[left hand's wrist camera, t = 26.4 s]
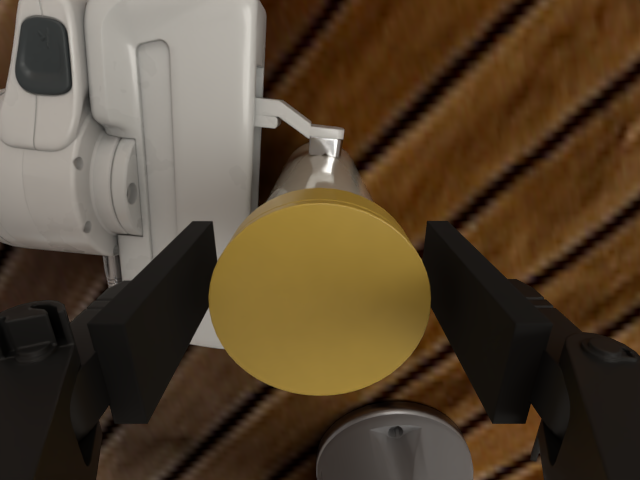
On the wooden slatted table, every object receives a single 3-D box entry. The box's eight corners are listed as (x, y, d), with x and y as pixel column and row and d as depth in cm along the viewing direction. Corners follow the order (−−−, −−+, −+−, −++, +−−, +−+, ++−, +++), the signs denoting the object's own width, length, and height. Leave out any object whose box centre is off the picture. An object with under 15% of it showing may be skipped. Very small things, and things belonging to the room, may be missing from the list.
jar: (340, 128, 25) (372, 178, 10) (367, 197, 27) (432, 334, 12) (270, 159, 26) (196, 252, 11) (301, 224, 28) (278, 387, 12)
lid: (380, 153, 10) (391, 164, 9) (438, 325, 12) (456, 360, 11) (188, 231, 11) (165, 254, 10) (273, 379, 13) (266, 418, 12)
